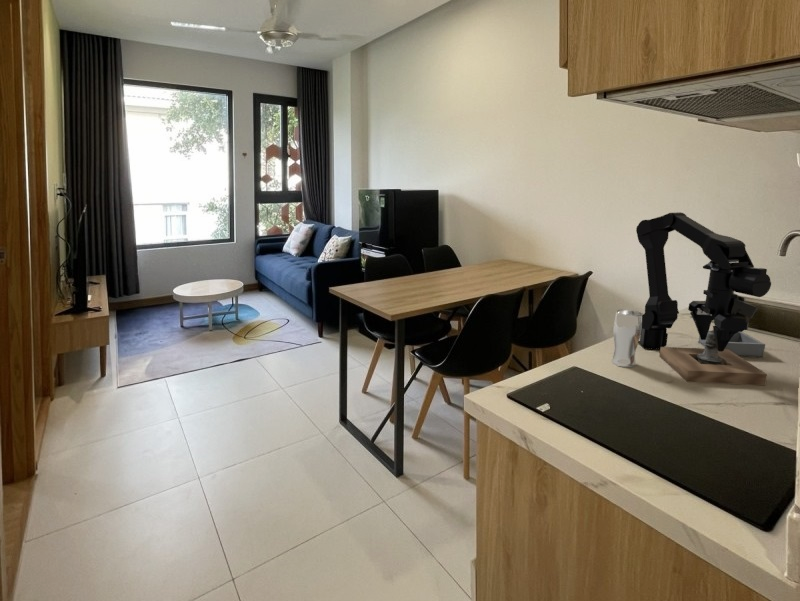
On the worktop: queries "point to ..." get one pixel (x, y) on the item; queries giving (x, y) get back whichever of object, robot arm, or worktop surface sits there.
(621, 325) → the beer glass
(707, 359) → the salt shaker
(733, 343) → the bin
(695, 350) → the socket block
